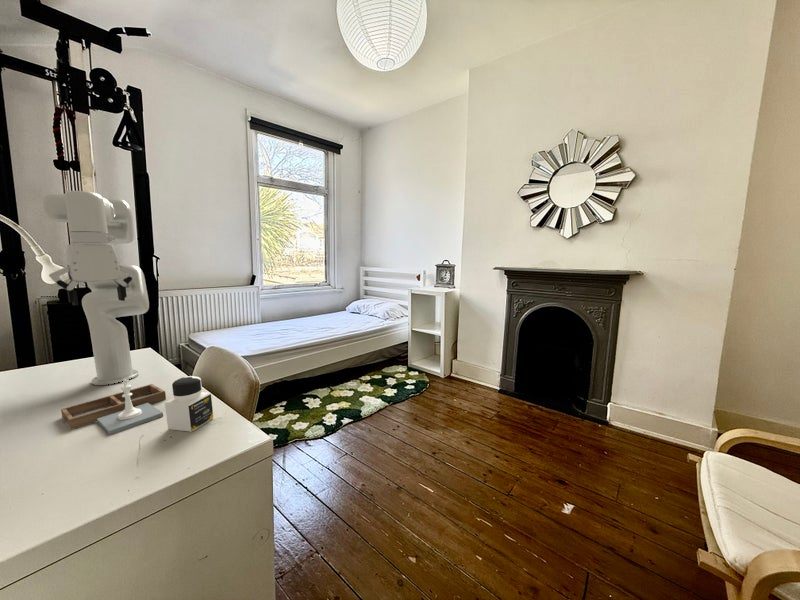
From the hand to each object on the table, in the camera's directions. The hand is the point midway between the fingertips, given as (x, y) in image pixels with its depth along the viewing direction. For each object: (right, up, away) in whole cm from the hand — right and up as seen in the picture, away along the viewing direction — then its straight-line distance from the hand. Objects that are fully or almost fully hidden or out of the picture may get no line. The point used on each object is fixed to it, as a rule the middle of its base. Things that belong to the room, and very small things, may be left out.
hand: (99, 302), depth 89 cm
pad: (+12, -31, -4) cm, 33 cm away
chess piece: (+11, -30, -4) cm, 32 cm away
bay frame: (+2, -30, +3) cm, 30 cm away
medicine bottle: (+30, -31, -7) cm, 44 cm away
